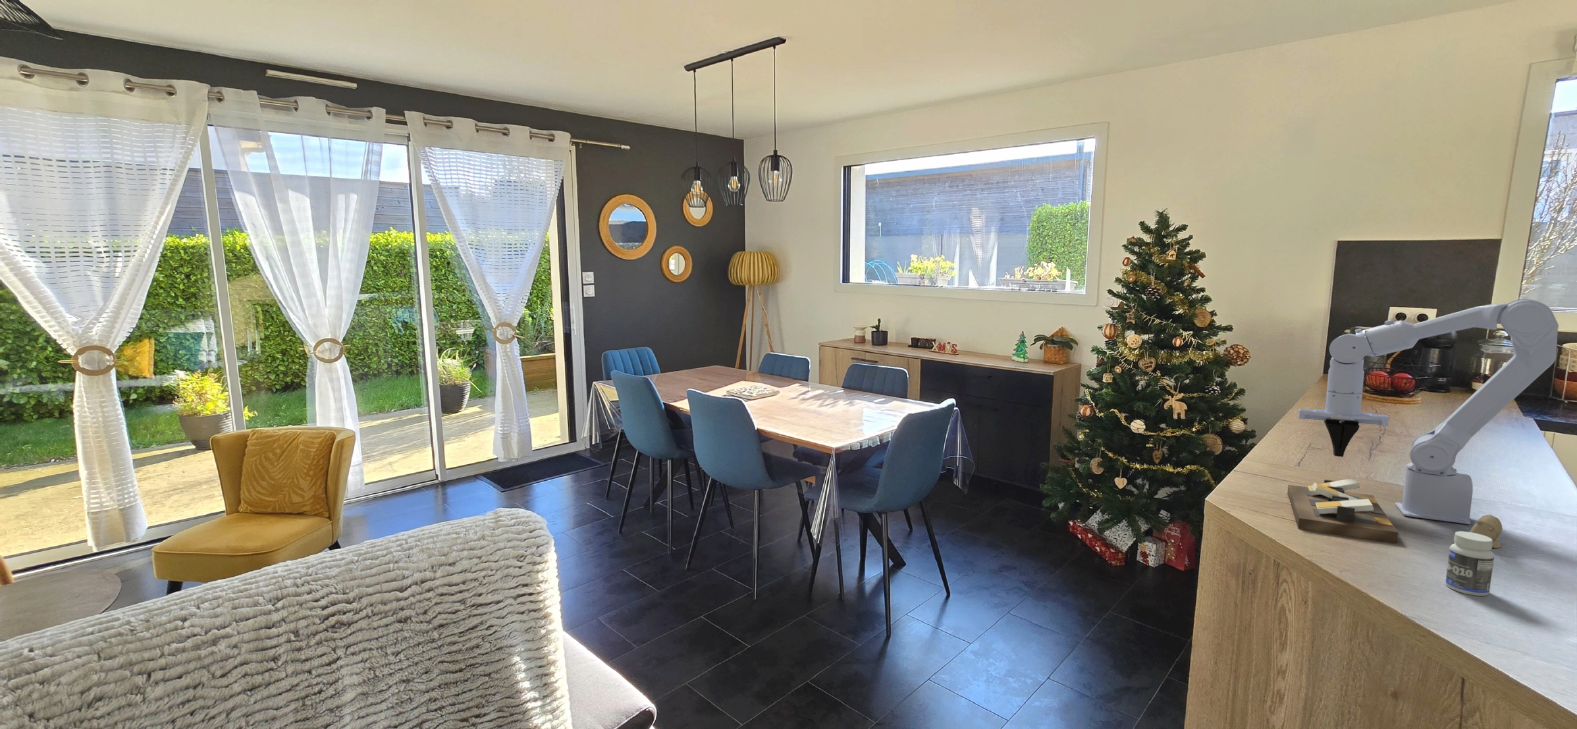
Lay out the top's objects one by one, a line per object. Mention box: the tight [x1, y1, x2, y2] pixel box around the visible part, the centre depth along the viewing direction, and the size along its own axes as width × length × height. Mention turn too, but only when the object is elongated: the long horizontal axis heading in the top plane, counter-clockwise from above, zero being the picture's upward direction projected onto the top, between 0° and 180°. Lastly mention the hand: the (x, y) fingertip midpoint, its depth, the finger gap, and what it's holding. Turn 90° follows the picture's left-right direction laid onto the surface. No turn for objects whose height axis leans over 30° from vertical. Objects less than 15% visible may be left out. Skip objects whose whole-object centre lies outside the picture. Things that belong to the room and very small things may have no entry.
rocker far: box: [1307, 477, 1361, 496], centre depth 138 cm, size 8×4×1 cm, turn 58°
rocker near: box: [1316, 499, 1374, 514], centre depth 127 cm, size 8×4×1 cm, turn 57°
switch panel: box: [1286, 479, 1399, 544], centre depth 133 cm, size 14×24×5 cm, turn 148°
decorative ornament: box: [1469, 514, 1503, 549], centre depth 118 cm, size 4×8×5 cm, turn 125°
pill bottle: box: [1445, 530, 1495, 597], centre depth 101 cm, size 5×5×8 cm
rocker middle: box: [1312, 481, 1359, 500], centre depth 132 cm, size 8×4×1 cm, turn 58°
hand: (1338, 455), depth 142 cm, fingers closed
